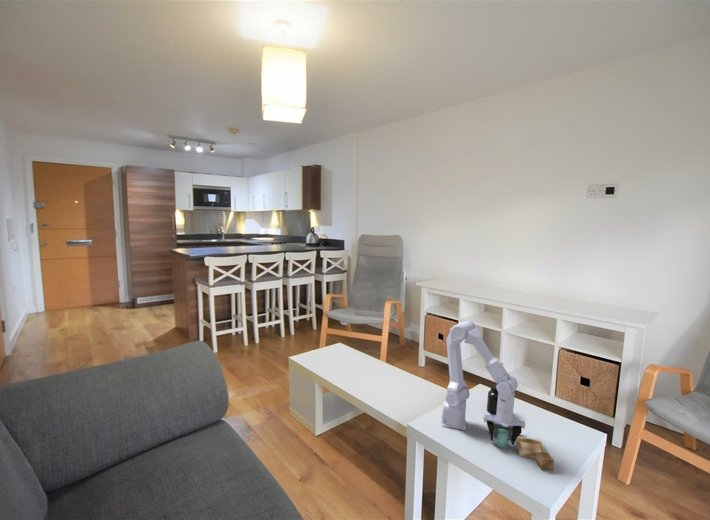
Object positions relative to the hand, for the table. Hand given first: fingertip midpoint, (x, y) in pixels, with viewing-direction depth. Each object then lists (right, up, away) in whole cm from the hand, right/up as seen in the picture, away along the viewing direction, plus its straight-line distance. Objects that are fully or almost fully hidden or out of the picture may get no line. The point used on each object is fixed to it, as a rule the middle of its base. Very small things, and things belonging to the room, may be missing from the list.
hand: (502, 441), depth 136 cm
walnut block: (+10, -3, -11) cm, 15 cm away
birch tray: (+10, -2, -2) cm, 10 cm away
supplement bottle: (+6, +1, +23) cm, 24 cm away
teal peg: (0, -1, 0) cm, 2 cm away
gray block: (+3, -1, +8) cm, 8 cm away
